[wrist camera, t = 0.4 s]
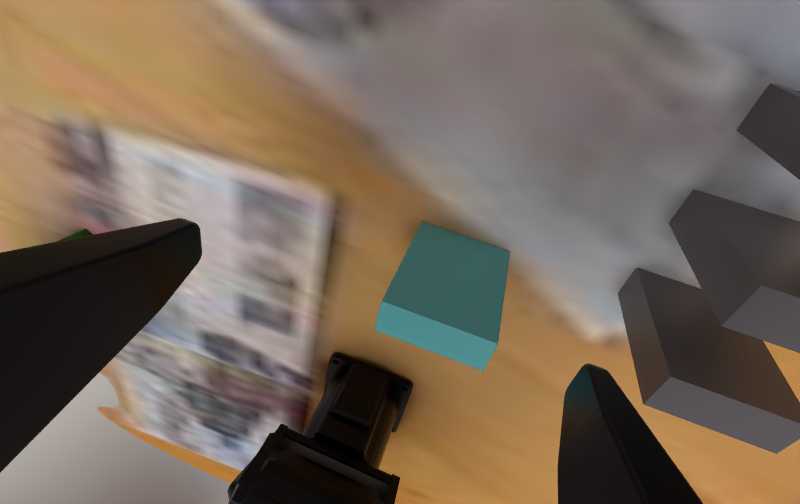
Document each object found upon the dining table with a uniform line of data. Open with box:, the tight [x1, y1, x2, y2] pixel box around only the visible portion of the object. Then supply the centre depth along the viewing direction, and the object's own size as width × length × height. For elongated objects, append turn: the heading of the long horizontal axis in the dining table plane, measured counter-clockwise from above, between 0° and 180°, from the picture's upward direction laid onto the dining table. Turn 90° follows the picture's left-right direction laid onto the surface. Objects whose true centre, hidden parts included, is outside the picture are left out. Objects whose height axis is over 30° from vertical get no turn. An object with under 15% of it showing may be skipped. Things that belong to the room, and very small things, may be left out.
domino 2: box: [669, 189, 800, 353], centre depth 15 cm, size 2×5×7 cm, turn 78°
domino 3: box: [618, 268, 800, 454], centre depth 18 cm, size 2×5×7 cm, turn 77°
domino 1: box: [375, 221, 510, 371], centre depth 20 cm, size 2×5×7 cm, turn 78°
